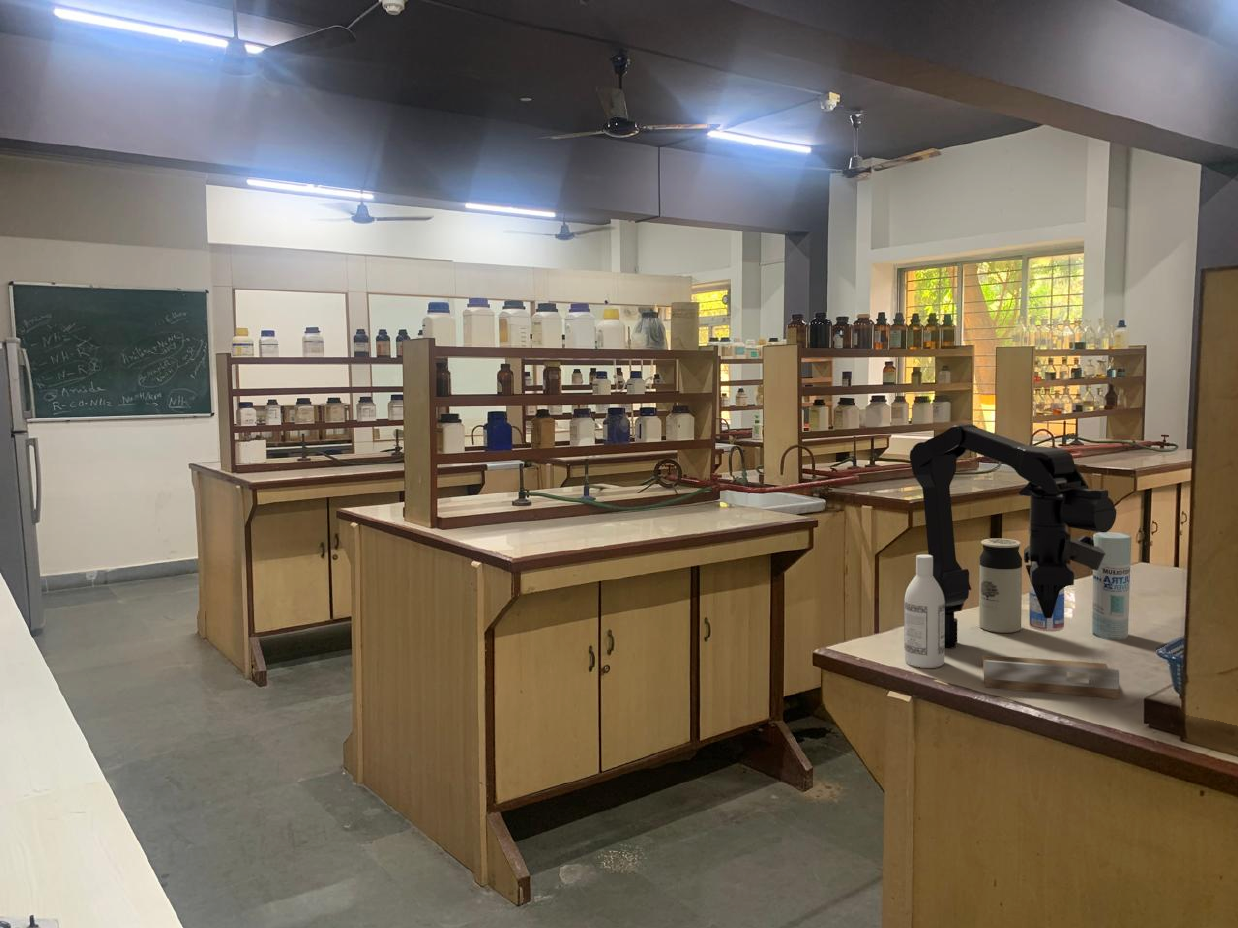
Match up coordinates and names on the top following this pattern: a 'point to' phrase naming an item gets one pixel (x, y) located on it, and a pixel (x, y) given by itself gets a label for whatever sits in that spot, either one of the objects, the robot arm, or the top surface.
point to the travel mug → (1000, 586)
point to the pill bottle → (1038, 618)
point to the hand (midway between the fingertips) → (1046, 613)
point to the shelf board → (1051, 676)
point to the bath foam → (924, 617)
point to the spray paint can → (1112, 586)
